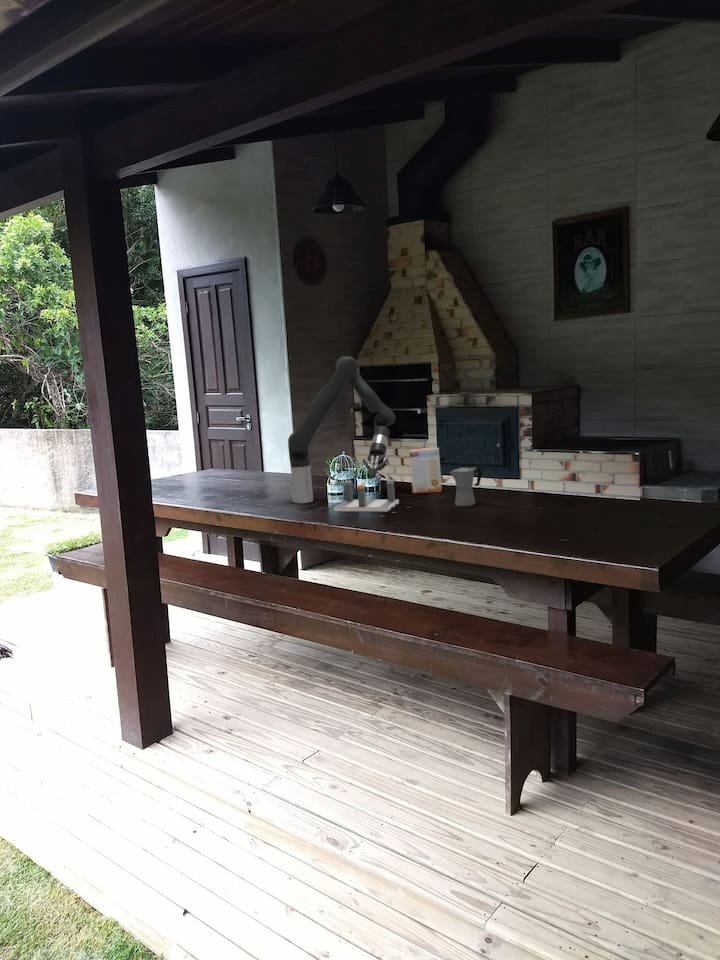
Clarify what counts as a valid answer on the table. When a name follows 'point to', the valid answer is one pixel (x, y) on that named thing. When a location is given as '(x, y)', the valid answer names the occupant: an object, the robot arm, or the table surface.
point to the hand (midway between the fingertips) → (372, 476)
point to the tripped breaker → (361, 495)
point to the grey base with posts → (370, 503)
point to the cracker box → (425, 470)
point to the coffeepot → (465, 484)
